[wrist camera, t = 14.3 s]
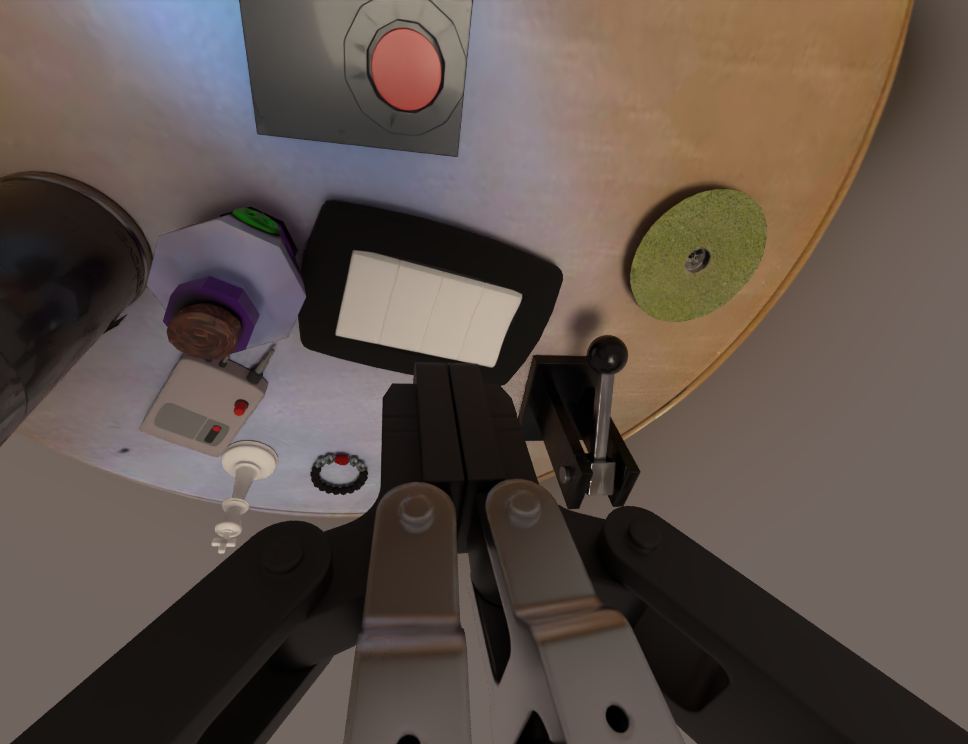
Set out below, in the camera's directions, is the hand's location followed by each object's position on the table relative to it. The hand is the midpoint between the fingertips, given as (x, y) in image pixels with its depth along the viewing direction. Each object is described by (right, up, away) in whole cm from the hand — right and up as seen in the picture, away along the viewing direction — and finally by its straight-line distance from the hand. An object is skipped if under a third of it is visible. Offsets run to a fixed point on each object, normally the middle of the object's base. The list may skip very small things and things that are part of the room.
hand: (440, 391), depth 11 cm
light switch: (-3, +6, +27) cm, 28 cm away
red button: (-3, +17, +14) cm, 22 cm away
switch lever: (+10, -3, +28) cm, 30 cm away
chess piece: (-22, -8, +34) cm, 41 cm away
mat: (+18, +11, +28) cm, 35 cm away
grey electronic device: (-23, -1, +29) cm, 36 cm away
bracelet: (-14, -10, +37) cm, 40 cm away
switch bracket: (+9, -2, +35) cm, 36 cm away
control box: (-6, +19, +16) cm, 26 cm away
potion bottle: (-15, +9, +22) cm, 28 cm away
